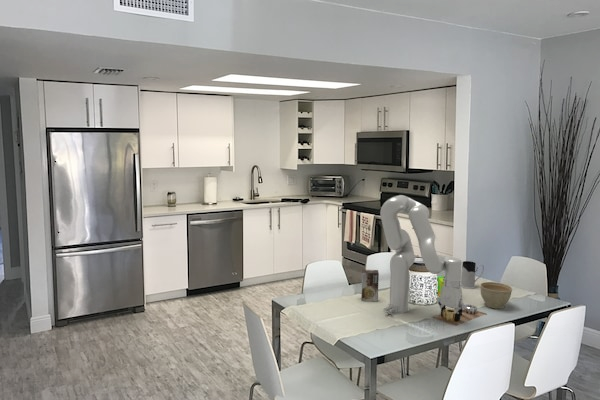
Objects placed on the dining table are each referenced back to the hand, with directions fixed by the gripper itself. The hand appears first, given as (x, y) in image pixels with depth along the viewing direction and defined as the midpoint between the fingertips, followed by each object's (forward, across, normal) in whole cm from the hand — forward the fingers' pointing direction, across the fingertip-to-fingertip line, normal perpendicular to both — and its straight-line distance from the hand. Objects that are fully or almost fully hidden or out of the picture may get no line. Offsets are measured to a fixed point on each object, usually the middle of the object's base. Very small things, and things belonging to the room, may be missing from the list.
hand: (450, 318), depth 250 cm
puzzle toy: (+2, -24, +33) cm, 41 cm away
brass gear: (0, 0, 0) cm, 0 cm away
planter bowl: (+2, +1, +40) cm, 40 cm away
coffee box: (+2, -47, -7) cm, 48 cm away
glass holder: (+2, -26, +61) cm, 66 cm away
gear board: (+2, 0, +8) cm, 8 cm away
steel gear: (0, 0, +17) cm, 17 cm away
